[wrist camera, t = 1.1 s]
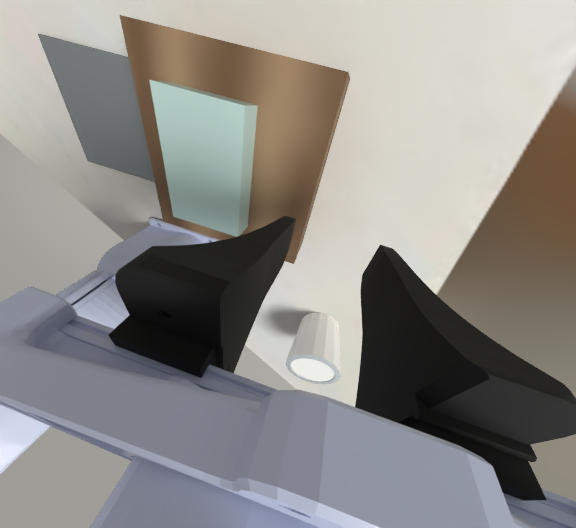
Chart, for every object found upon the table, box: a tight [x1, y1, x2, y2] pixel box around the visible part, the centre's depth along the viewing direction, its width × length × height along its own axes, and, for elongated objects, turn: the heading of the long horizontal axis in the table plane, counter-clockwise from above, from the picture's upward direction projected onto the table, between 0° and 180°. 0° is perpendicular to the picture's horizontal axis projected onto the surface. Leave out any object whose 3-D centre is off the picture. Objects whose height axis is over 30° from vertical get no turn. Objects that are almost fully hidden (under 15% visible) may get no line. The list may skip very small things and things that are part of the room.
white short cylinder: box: [286, 312, 341, 384], centre depth 29 cm, size 7×7×7 cm
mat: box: [38, 34, 155, 182], centre depth 20 cm, size 12×10×1 cm
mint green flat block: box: [149, 80, 258, 237], centre depth 16 cm, size 6×9×2 cm, turn 169°
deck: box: [120, 15, 350, 264], centre depth 18 cm, size 14×14×4 cm
